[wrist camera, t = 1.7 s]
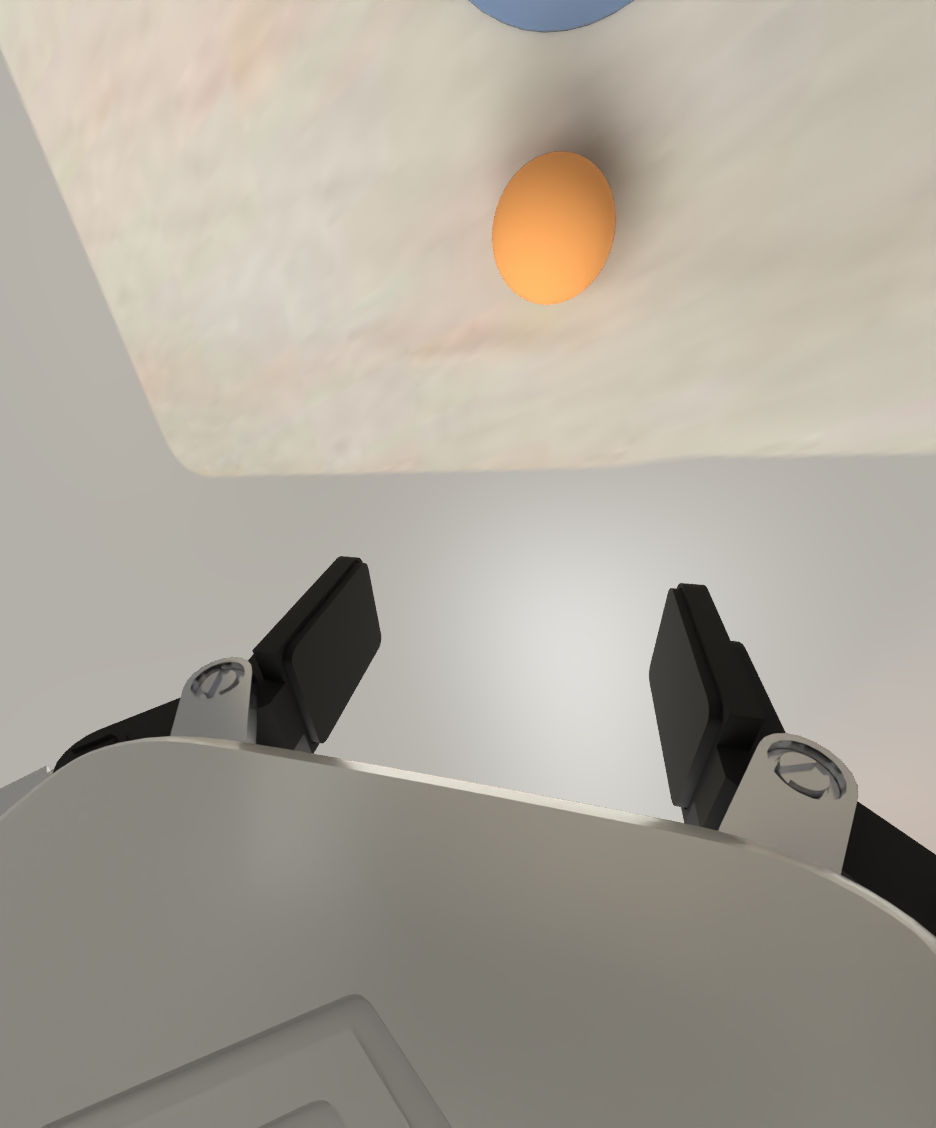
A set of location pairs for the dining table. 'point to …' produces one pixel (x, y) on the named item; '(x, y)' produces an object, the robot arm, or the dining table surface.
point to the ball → (554, 227)
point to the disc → (549, 12)
